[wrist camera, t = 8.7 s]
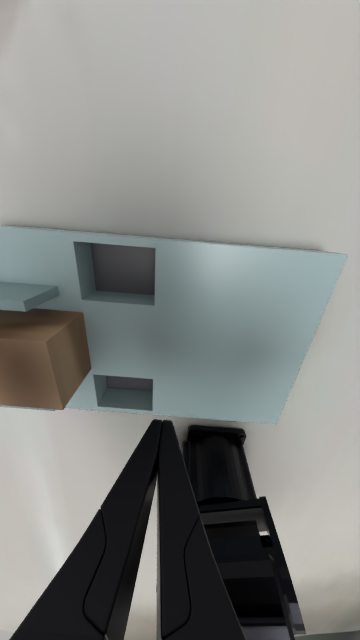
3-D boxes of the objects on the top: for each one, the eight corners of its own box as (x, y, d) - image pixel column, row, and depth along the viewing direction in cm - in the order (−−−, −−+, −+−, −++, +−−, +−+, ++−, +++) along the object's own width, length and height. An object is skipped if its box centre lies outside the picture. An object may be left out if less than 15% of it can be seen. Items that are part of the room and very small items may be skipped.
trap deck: (321, 250, 14) (398, 262, 9) (266, 402, 20) (292, 459, 15) (6, 224, 14) (-98, 222, 9) (50, 385, 20) (5, 437, 15)
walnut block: (83, 312, 14) (45, 341, 10) (91, 368, 16) (63, 410, 12) (12, 306, 14) (-51, 334, 10) (30, 363, 16) (-17, 403, 12)
